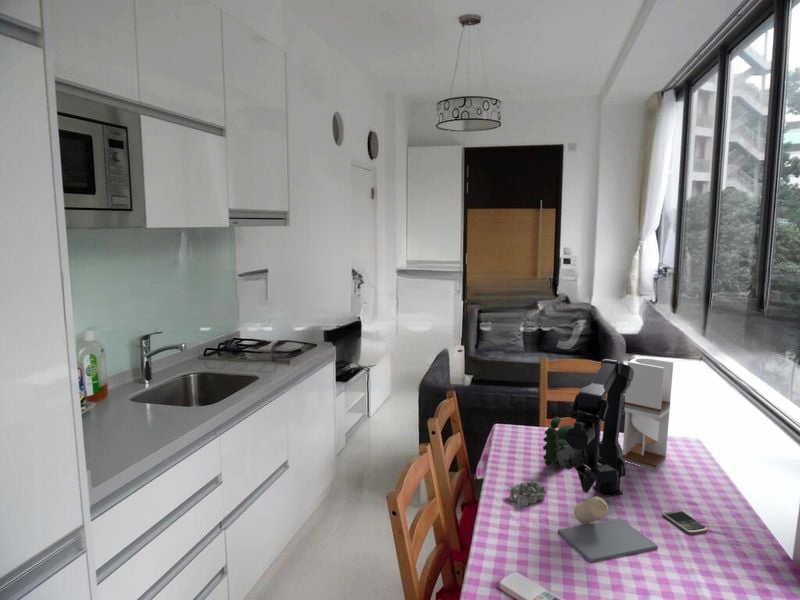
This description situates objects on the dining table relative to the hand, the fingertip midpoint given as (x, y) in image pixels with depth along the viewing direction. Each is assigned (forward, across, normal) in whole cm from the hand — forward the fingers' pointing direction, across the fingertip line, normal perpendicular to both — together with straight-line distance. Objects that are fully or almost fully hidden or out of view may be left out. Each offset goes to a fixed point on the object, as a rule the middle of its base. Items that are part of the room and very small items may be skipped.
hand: (585, 492), depth 158 cm
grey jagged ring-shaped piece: (+9, -17, -8) cm, 21 cm away
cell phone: (+9, +8, +26) cm, 29 cm away
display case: (+9, -29, +44) cm, 53 cm away
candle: (+7, -1, 0) cm, 7 cm away
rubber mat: (+9, +10, 0) cm, 13 cm away
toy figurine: (+9, -36, +17) cm, 41 cm away
